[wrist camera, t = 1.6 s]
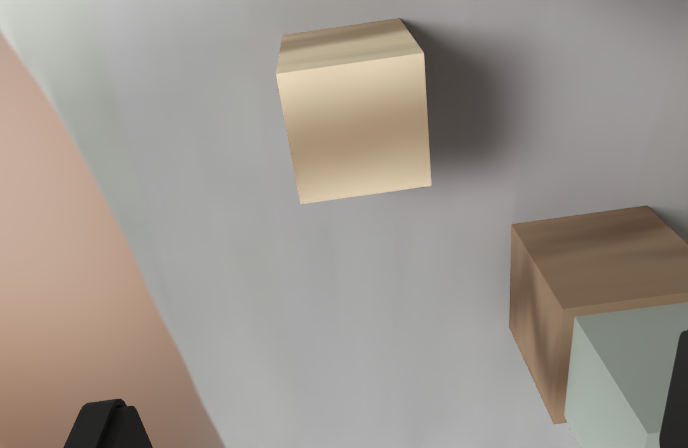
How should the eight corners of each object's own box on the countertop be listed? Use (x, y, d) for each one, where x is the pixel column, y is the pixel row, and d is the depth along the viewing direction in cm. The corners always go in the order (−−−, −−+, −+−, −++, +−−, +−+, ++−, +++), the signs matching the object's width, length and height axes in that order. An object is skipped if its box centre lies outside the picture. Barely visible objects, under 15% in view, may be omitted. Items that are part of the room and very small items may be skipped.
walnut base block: (511, 224, 30) (563, 308, 24) (646, 205, 30) (732, 286, 24) (509, 327, 33) (553, 424, 27) (630, 311, 33) (701, 404, 27)
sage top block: (574, 316, 24) (648, 433, 19) (718, 298, 24) (831, 410, 19) (564, 415, 27) (624, 540, 22) (691, 399, 27) (783, 520, 22)
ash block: (282, 34, 25) (276, 74, 19) (399, 17, 24) (423, 52, 19) (301, 143, 27) (300, 203, 22) (407, 128, 27) (431, 185, 22)
